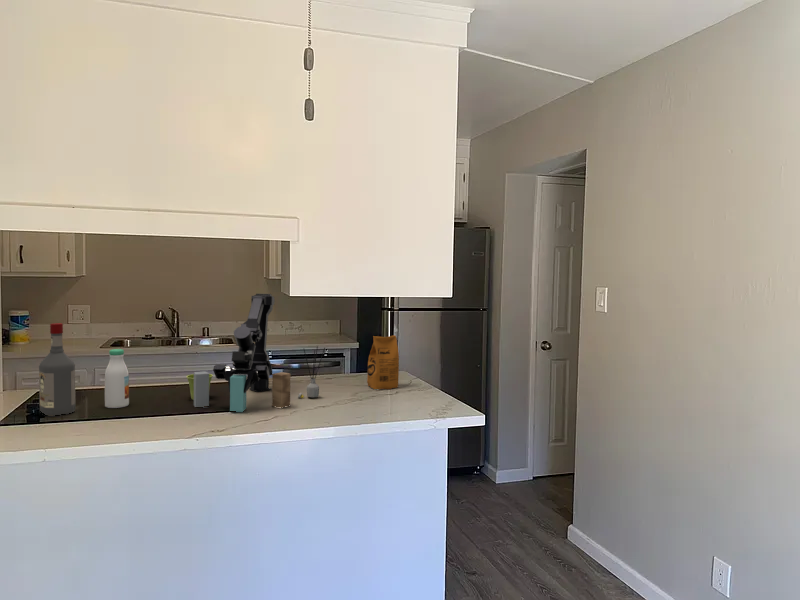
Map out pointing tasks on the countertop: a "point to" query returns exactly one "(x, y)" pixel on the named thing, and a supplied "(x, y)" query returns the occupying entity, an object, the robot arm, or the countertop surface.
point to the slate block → (201, 389)
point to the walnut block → (281, 389)
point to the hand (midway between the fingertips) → (237, 392)
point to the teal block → (237, 393)
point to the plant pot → (191, 383)
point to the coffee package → (383, 363)
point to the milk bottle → (116, 381)
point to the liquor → (57, 377)
